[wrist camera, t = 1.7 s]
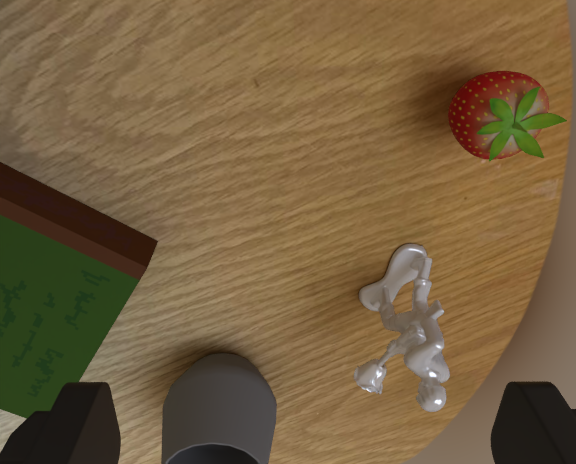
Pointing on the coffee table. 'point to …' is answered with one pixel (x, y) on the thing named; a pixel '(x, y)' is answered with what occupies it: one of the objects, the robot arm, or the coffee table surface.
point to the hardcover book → (57, 288)
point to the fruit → (500, 115)
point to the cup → (219, 414)
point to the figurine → (408, 328)
